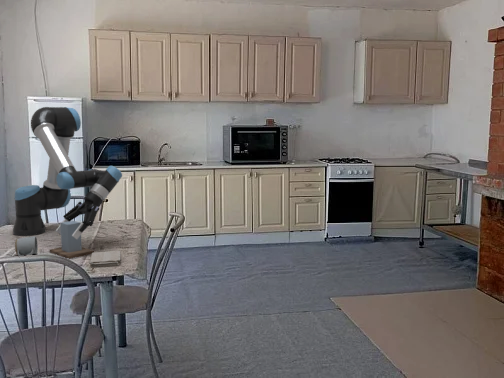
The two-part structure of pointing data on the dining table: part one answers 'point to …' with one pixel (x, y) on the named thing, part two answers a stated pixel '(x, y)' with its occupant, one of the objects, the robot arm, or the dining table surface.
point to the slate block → (70, 237)
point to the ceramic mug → (26, 246)
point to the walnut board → (71, 254)
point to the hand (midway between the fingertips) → (66, 235)
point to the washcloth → (105, 259)
